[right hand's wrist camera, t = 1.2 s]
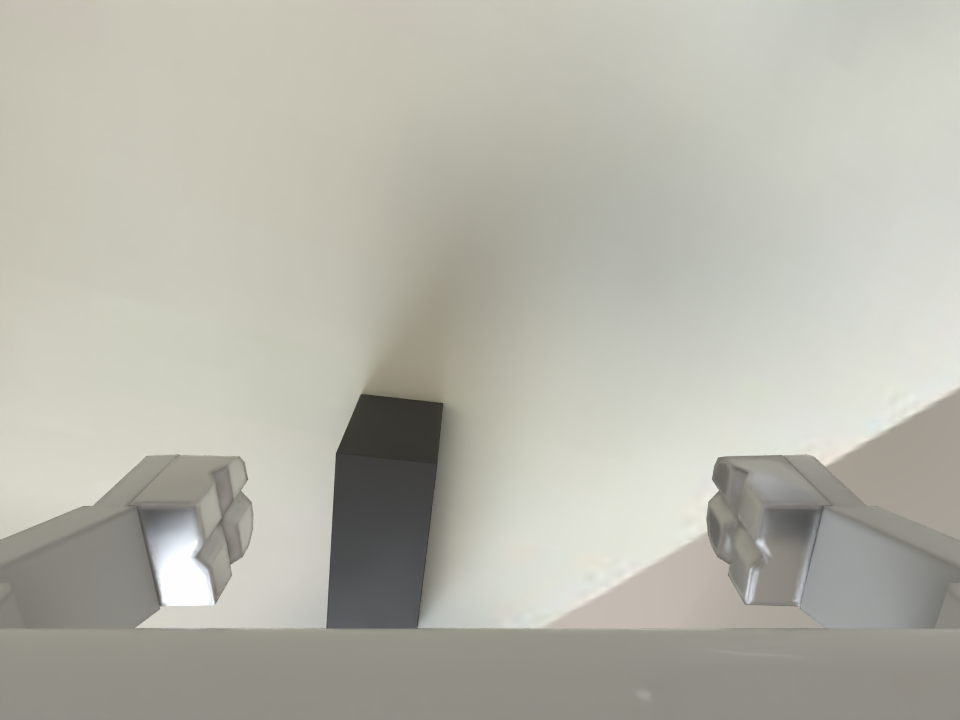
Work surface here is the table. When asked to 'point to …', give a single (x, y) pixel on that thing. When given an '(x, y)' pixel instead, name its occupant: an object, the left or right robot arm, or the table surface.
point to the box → (382, 512)
